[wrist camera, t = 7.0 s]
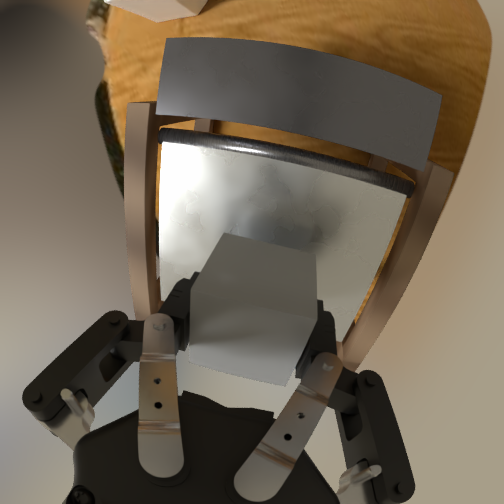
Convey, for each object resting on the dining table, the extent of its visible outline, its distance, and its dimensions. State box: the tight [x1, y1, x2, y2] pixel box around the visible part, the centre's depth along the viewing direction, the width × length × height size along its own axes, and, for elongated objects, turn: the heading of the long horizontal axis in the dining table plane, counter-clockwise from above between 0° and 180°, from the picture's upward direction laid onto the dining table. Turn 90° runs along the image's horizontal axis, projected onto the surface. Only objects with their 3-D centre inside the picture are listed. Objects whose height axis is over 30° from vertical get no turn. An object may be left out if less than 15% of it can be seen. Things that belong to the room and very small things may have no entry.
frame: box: [124, 101, 454, 372], centre depth 22 cm, size 17×18×13 cm
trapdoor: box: [156, 37, 442, 342], centre depth 16 cm, size 18×15×5 cm
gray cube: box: [189, 233, 317, 386], centre depth 14 cm, size 5×5×5 cm
